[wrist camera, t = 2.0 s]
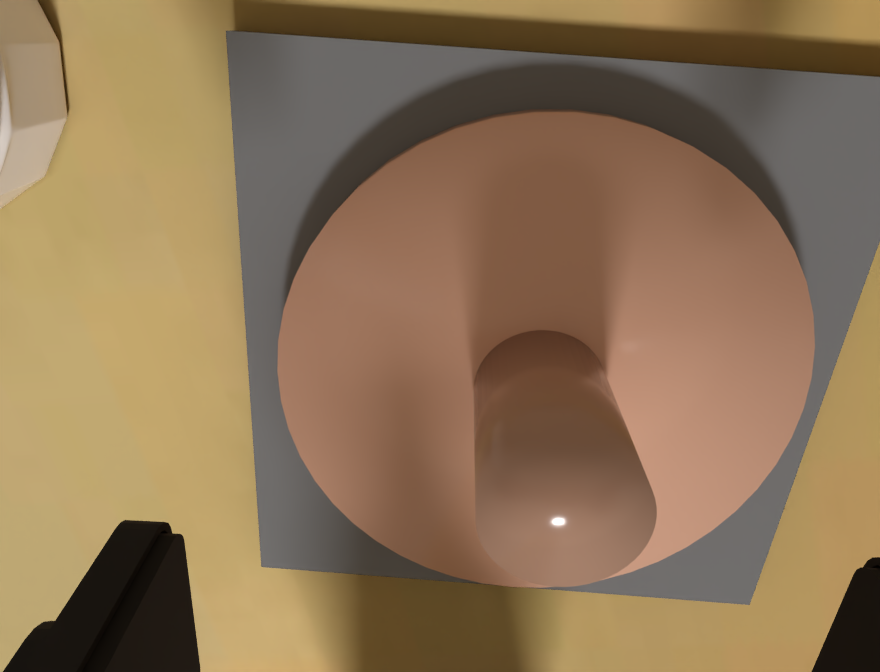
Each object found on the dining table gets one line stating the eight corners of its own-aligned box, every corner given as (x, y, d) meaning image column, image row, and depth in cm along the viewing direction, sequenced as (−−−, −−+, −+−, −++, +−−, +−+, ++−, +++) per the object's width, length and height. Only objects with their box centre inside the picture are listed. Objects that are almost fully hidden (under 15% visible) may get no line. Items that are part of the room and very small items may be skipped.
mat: (918, 79, 13) (936, 81, 13) (741, 588, 19) (749, 604, 19) (235, 30, 14) (225, 30, 13) (267, 552, 19) (261, 566, 19)
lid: (866, 128, 13) (1098, 183, 8) (724, 575, 18) (817, 772, 13) (277, 89, 13) (167, 120, 9) (296, 544, 18) (233, 728, 14)
